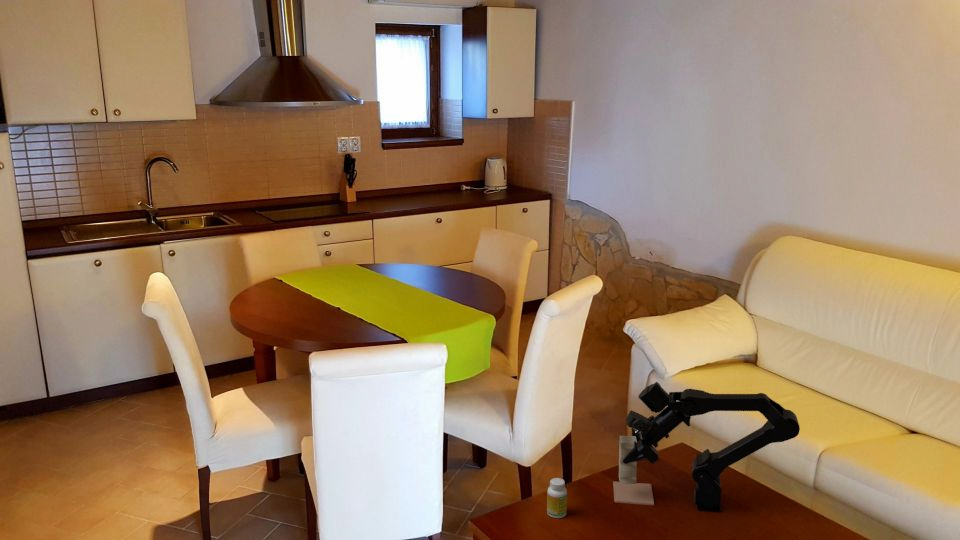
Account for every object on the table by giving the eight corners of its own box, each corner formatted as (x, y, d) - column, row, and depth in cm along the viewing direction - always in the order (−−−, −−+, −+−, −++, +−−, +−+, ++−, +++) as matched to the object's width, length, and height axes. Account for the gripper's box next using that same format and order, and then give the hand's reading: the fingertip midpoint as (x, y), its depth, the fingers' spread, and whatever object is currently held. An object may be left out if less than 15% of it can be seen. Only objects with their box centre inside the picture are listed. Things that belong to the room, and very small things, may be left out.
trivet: (650, 485, 214) (650, 484, 214) (653, 505, 204) (654, 503, 204) (613, 482, 216) (613, 481, 216) (614, 502, 205) (614, 500, 205)
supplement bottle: (560, 521, 196) (560, 488, 194) (543, 514, 199) (543, 482, 197) (570, 512, 200) (571, 480, 198) (553, 506, 204) (554, 474, 202)
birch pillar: (634, 476, 209) (635, 436, 206) (636, 484, 204) (637, 443, 202) (618, 475, 209) (619, 435, 206) (619, 483, 205) (620, 442, 202)
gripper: (640, 391, 210) (601, 425, 214) (647, 417, 192) (604, 454, 196) (667, 417, 211) (627, 450, 215) (676, 446, 193) (633, 482, 197)
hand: (622, 458), depth 205 cm, fingers closed on birch pillar, 4 cm apart
